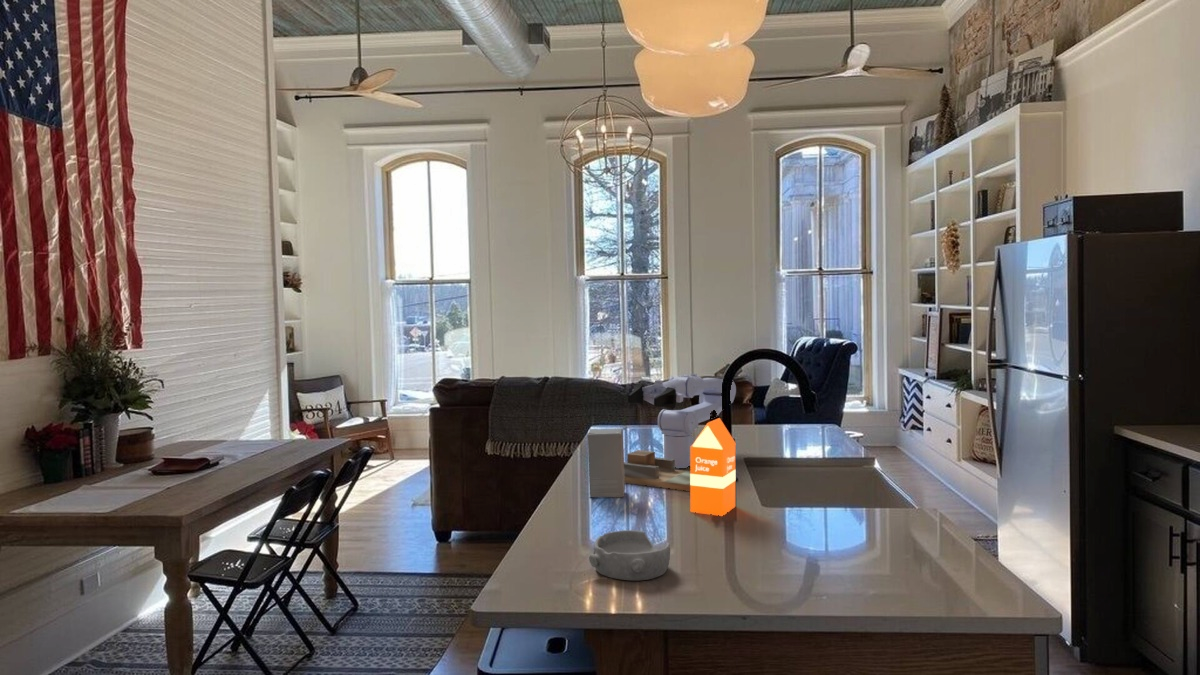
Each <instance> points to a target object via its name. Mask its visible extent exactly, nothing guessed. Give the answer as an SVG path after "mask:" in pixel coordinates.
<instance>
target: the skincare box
mask: <svg viewBox="0 0 1200 675" xmlns="http://www.w3.org/2000/svg"><path fill="white" fill-rule="evenodd" d="M623 430H624V429H623V428H622V427H620V428H590V430H589V431H588V432H587V436H586V438H587V452H588V453H587V455H588V456H587V457H588V479H589V482H588V483H589V498H590V497H603V498H623V497H624V494H625V491H626V483H625V475H624V462H625V454H624V434H623V433H624V432H623Z"/></svg>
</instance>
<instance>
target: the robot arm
mask: <svg viewBox="0 0 1200 675" xmlns="http://www.w3.org/2000/svg"><path fill="white" fill-rule="evenodd" d="M723 379H724V378H718V377H717V378H716V377H703V378H702V377H701V376H699V375H698V374H697V373H690V375H689V374H684V375H683V376H673V375H672V376H670V377H669V379H668V380H666V381H663V380H661V379H656V380H655V381H654V384H651V385H647V386H644V387H643V384H641V383H636V384H634V386H633V388H632V390H631V392H630V393H629V394H628V395H627V396H628V397H627V402H628V403H629V404H635V405H638V406H643V405H644V401H646V402H647V403H650V404H651V405H653V406H654V407H660V408H661V407H664V408H663V409H662V410H660V411H659V413H658V416H657V426H658V429H659V430H660V431H661V434H662V435H663V437H664V438H663V439H664V440H663V442H664V443H663V444H664V445H663V447H664V448H663V450H664V451H663V453H664V454H663V458H666V459H675V467H676V468H675V469H679V468H686V467H687V466H690V447H691V446H692V445H693V443H694V442H695V438H694V437H693V435H692V434H694V432H695V430H696V429H698V428H699V424H700V423H703V422H705V421H708V420H710V413H711V411H713V410H715V411H716V413H717V415H718V416H719V415H720V413H721V412H722V411H723V410H722V396H721V393H722V382H723ZM736 394H737V386H736V383H735V381H733V382H732V385H731V390H730V401H731V404H733V403H734V400H735V397H736ZM695 396H699V397H698V398H699V399H698V404H694V405H691V406H689V407H686V408H683V409H675V408H676V403H683V402H684V398H688V399H690V398H691V399H692V398H694V397H695ZM686 469H687V468H686Z"/></svg>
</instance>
